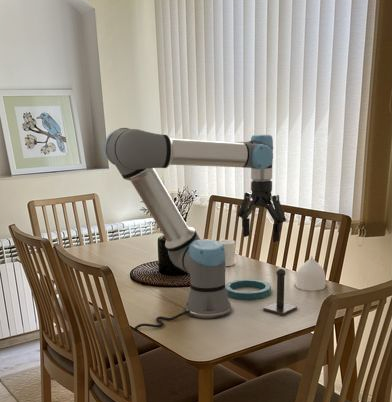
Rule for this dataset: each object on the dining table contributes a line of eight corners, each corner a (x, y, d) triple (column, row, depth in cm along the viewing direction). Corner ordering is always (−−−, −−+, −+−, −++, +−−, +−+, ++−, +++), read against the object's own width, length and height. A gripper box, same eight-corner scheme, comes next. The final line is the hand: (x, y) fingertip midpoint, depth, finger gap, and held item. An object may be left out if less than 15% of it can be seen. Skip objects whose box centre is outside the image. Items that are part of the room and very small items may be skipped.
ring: (250, 302, 191) (250, 296, 190) (215, 293, 202) (215, 286, 202) (279, 291, 202) (279, 285, 201) (245, 282, 213) (245, 276, 212)
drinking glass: (238, 263, 239) (238, 240, 235) (229, 267, 232) (229, 244, 229) (223, 261, 243) (222, 238, 239) (214, 265, 236) (213, 242, 233)
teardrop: (315, 280, 213) (317, 250, 209) (331, 288, 203) (332, 257, 199) (290, 283, 210) (291, 253, 206) (304, 292, 200) (305, 260, 196)
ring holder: (283, 316, 179) (284, 273, 174) (263, 310, 184) (263, 269, 179) (296, 309, 184) (298, 267, 179) (277, 304, 189) (278, 263, 184)
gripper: (297, 181, 188) (295, 241, 195) (240, 176, 205) (241, 232, 212) (284, 183, 183) (283, 245, 190) (227, 178, 200) (228, 235, 207)
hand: (260, 238), depth 201 cm, fingers open, 13 cm apart
